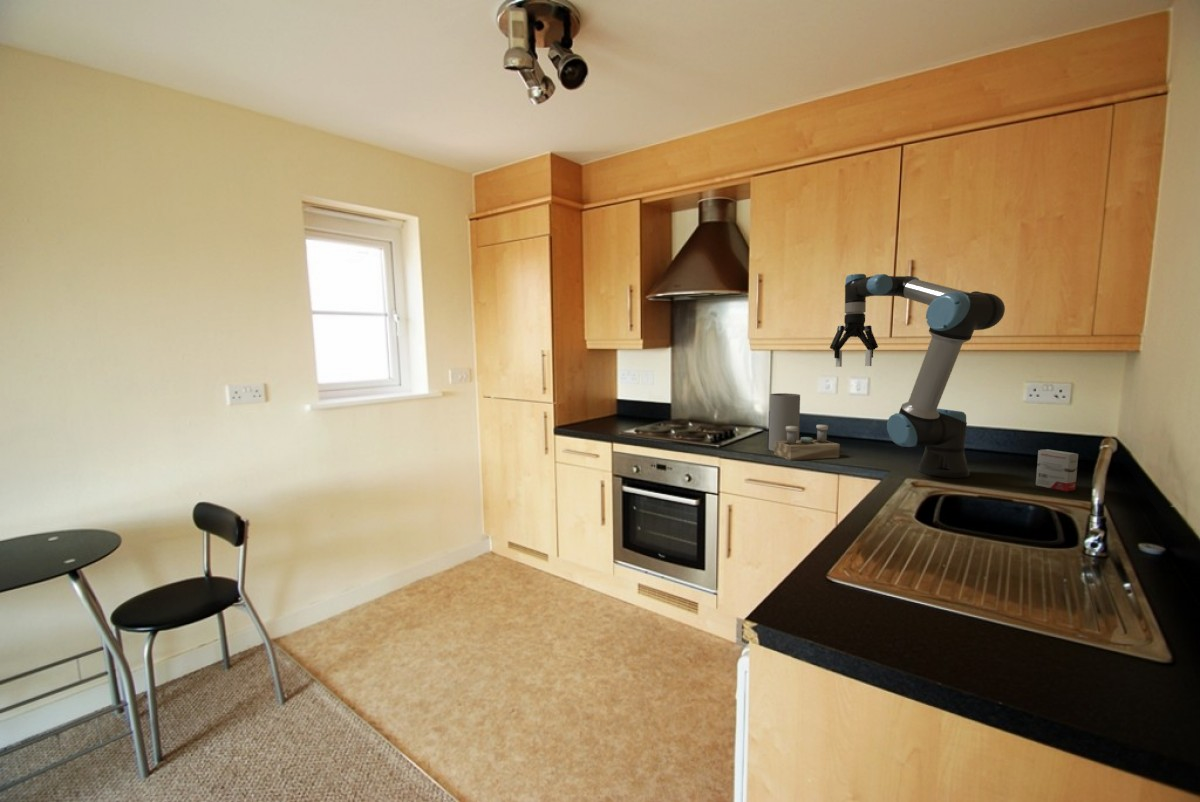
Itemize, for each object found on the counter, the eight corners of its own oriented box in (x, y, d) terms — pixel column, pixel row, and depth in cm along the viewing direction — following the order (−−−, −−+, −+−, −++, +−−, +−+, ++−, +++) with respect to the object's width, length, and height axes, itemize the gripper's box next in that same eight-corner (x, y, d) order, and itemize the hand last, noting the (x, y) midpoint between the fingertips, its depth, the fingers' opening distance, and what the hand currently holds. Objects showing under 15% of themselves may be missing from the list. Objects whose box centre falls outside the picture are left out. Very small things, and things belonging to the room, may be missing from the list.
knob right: (830, 443, 210) (830, 426, 209) (820, 444, 209) (820, 426, 208) (823, 441, 215) (823, 424, 214) (813, 442, 214) (813, 424, 213)
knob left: (799, 445, 207) (800, 427, 207) (789, 446, 206) (789, 427, 206) (793, 443, 212) (793, 425, 211) (783, 444, 211) (783, 426, 210)
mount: (839, 458, 207) (839, 444, 207) (790, 461, 203) (790, 446, 203) (820, 452, 219) (821, 439, 218) (774, 455, 215) (774, 441, 214)
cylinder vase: (763, 448, 230) (764, 393, 227) (789, 447, 231) (790, 393, 229) (777, 454, 217) (778, 396, 215) (804, 452, 219) (806, 395, 217)
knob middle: (814, 456, 209) (815, 438, 208) (804, 457, 208) (805, 439, 208) (807, 454, 214) (808, 436, 213) (798, 454, 213) (798, 437, 212)
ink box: (1076, 490, 159) (1079, 453, 158) (1067, 492, 157) (1070, 454, 156) (1043, 483, 167) (1046, 448, 165) (1034, 485, 165) (1037, 449, 164)
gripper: (875, 314, 210) (873, 365, 212) (821, 314, 205) (820, 366, 207) (888, 312, 203) (887, 365, 205) (833, 312, 198) (832, 367, 200)
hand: (853, 366), depth 206 cm, fingers open, 13 cm apart
